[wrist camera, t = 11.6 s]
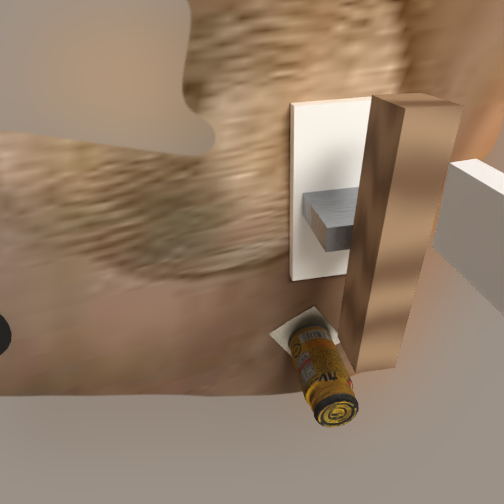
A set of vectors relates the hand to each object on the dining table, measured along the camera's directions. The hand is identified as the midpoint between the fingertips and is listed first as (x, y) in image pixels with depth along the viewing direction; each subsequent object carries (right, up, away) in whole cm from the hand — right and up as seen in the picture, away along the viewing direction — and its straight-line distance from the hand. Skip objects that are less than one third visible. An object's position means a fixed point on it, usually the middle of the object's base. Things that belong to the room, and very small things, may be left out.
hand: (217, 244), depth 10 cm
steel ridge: (+11, +5, +31) cm, 33 cm away
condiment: (+8, -12, +43) cm, 46 cm away
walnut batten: (+12, +1, +24) cm, 27 cm away
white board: (+11, +6, +32) cm, 35 cm away
